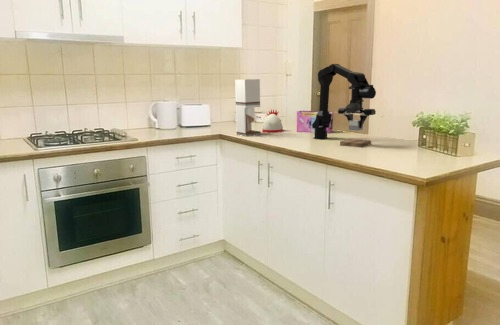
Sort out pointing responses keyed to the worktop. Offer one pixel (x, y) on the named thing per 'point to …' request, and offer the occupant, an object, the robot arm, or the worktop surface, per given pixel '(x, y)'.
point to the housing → (354, 125)
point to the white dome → (272, 123)
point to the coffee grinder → (246, 105)
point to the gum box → (310, 121)
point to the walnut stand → (355, 143)
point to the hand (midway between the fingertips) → (355, 127)
